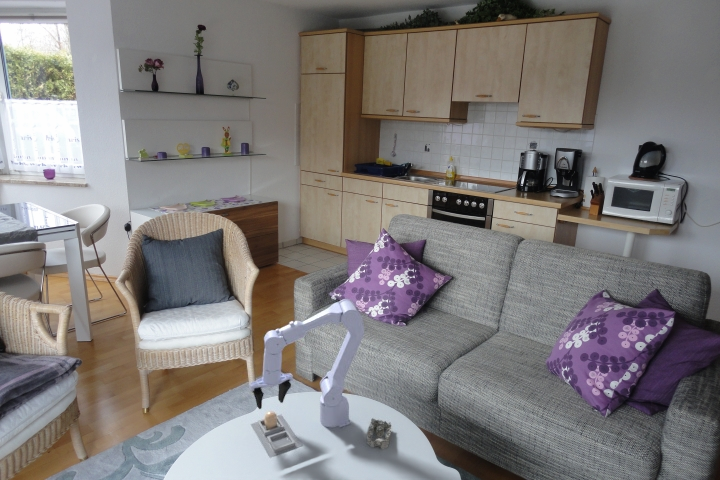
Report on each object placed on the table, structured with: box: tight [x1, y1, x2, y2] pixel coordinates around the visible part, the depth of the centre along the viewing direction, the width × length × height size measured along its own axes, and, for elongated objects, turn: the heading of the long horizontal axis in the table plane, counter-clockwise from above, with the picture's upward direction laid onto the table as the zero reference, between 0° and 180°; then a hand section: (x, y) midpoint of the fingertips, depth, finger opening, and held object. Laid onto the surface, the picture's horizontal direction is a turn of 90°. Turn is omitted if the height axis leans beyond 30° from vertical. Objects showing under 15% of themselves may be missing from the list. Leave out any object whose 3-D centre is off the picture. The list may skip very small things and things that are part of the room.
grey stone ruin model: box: [366, 417, 393, 450], centre depth 156 cm, size 11×8×4 cm
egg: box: [264, 410, 278, 430], centre depth 158 cm, size 4×4×6 cm
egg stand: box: [250, 414, 304, 458], centre depth 155 cm, size 11×18×2 cm, turn 31°
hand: (270, 404), depth 156 cm, fingers open, 7 cm apart
